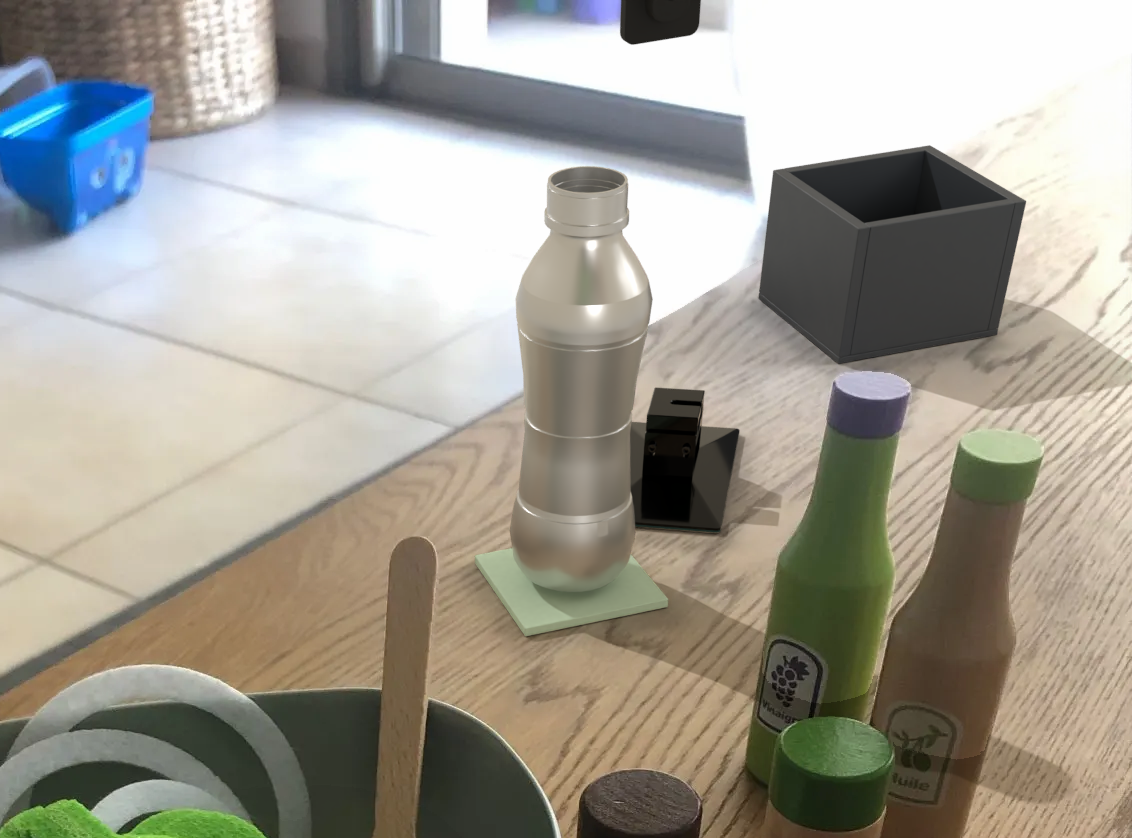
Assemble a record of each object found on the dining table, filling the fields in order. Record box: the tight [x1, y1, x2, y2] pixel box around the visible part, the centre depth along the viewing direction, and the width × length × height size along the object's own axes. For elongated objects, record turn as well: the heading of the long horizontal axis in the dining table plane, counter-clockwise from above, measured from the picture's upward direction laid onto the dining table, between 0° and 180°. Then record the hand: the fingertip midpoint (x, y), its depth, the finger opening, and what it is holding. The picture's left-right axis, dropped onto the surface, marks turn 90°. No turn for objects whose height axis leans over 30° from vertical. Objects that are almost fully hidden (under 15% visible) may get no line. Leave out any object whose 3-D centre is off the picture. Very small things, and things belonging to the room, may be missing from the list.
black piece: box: [630, 387, 740, 534], centre depth 94 cm, size 12×7×5 cm, turn 166°
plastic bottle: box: [508, 165, 654, 592], centre depth 80 cm, size 6×7×20 cm
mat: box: [474, 547, 669, 637], centre depth 87 cm, size 8×8×1 cm
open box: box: [757, 145, 1027, 364], centre depth 108 cm, size 12×12×8 cm
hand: (611, 9), depth 69 cm, fingers open, 9 cm apart
